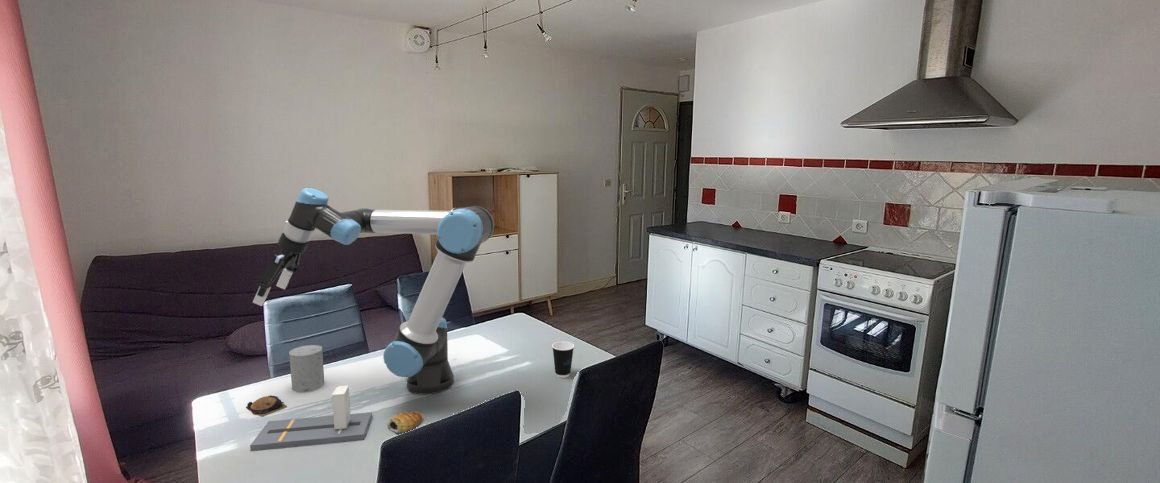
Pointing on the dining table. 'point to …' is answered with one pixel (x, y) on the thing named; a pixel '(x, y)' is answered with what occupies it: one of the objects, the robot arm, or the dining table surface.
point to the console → (310, 431)
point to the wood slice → (266, 405)
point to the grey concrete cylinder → (306, 368)
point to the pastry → (404, 422)
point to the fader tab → (341, 407)
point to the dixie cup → (562, 358)
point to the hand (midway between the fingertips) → (269, 295)
